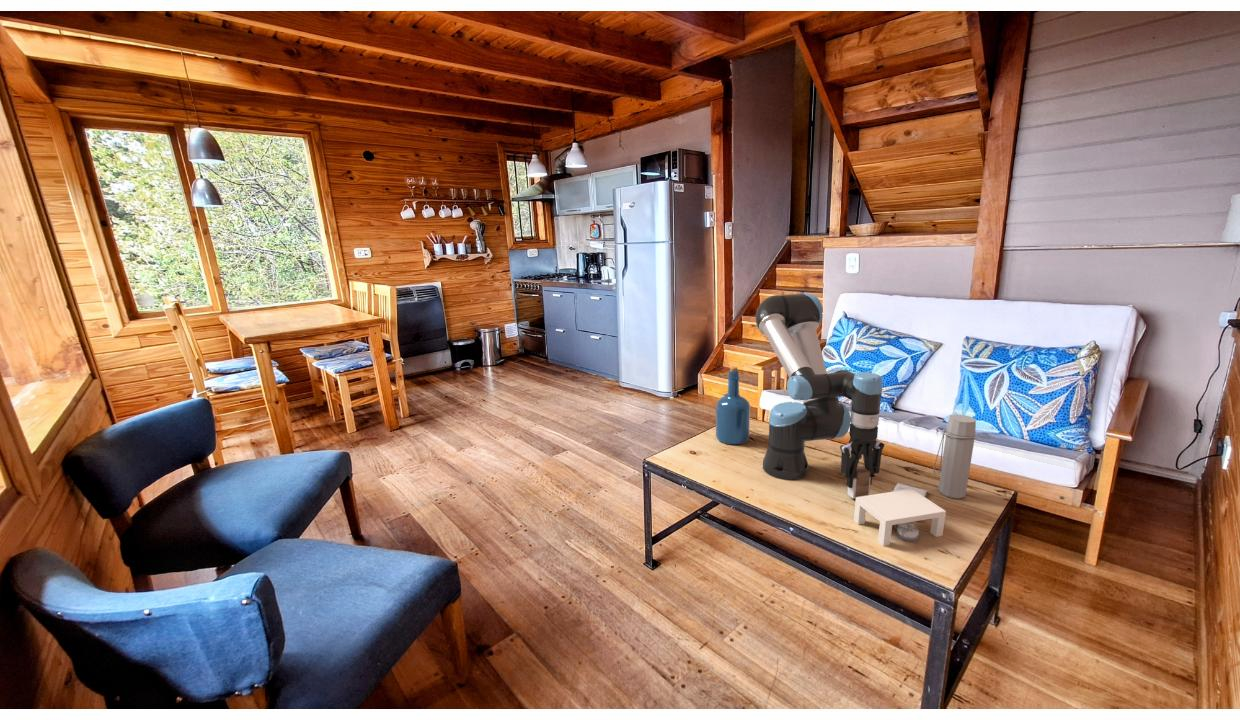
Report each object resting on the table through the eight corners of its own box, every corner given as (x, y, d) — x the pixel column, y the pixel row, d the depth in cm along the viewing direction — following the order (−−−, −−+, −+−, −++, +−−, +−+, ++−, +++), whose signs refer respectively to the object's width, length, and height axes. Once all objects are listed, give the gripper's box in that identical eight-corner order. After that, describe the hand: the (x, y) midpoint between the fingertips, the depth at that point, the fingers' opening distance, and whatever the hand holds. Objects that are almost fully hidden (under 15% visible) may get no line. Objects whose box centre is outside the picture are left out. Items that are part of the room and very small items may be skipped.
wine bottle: (751, 445, 189) (754, 372, 182) (717, 445, 191) (718, 372, 183) (746, 431, 202) (748, 362, 195) (714, 431, 204) (714, 362, 196)
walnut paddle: (847, 493, 152) (849, 467, 150) (859, 491, 153) (861, 465, 151) (894, 529, 133) (897, 500, 131) (906, 527, 134) (910, 498, 132)
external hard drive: (886, 503, 148) (896, 486, 157) (917, 512, 143) (926, 494, 152) (887, 498, 147) (897, 482, 156) (918, 507, 142) (926, 490, 151)
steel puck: (892, 532, 133) (893, 524, 133) (908, 529, 134) (909, 521, 134) (905, 543, 129) (906, 535, 128) (922, 540, 129) (923, 532, 129)
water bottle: (968, 493, 151) (980, 417, 144) (962, 503, 145) (974, 425, 139) (934, 483, 157) (945, 410, 151) (927, 492, 152) (937, 417, 146)
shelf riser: (853, 520, 139) (855, 497, 137) (908, 511, 142) (911, 488, 140) (883, 546, 128) (885, 521, 126) (942, 535, 131) (946, 511, 129)
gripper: (846, 432, 140) (840, 505, 145) (898, 426, 143) (891, 497, 148) (830, 423, 147) (825, 492, 153) (880, 417, 150) (874, 485, 156)
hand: (858, 495), depth 151 cm, fingers closed on walnut paddle, 4 cm apart
